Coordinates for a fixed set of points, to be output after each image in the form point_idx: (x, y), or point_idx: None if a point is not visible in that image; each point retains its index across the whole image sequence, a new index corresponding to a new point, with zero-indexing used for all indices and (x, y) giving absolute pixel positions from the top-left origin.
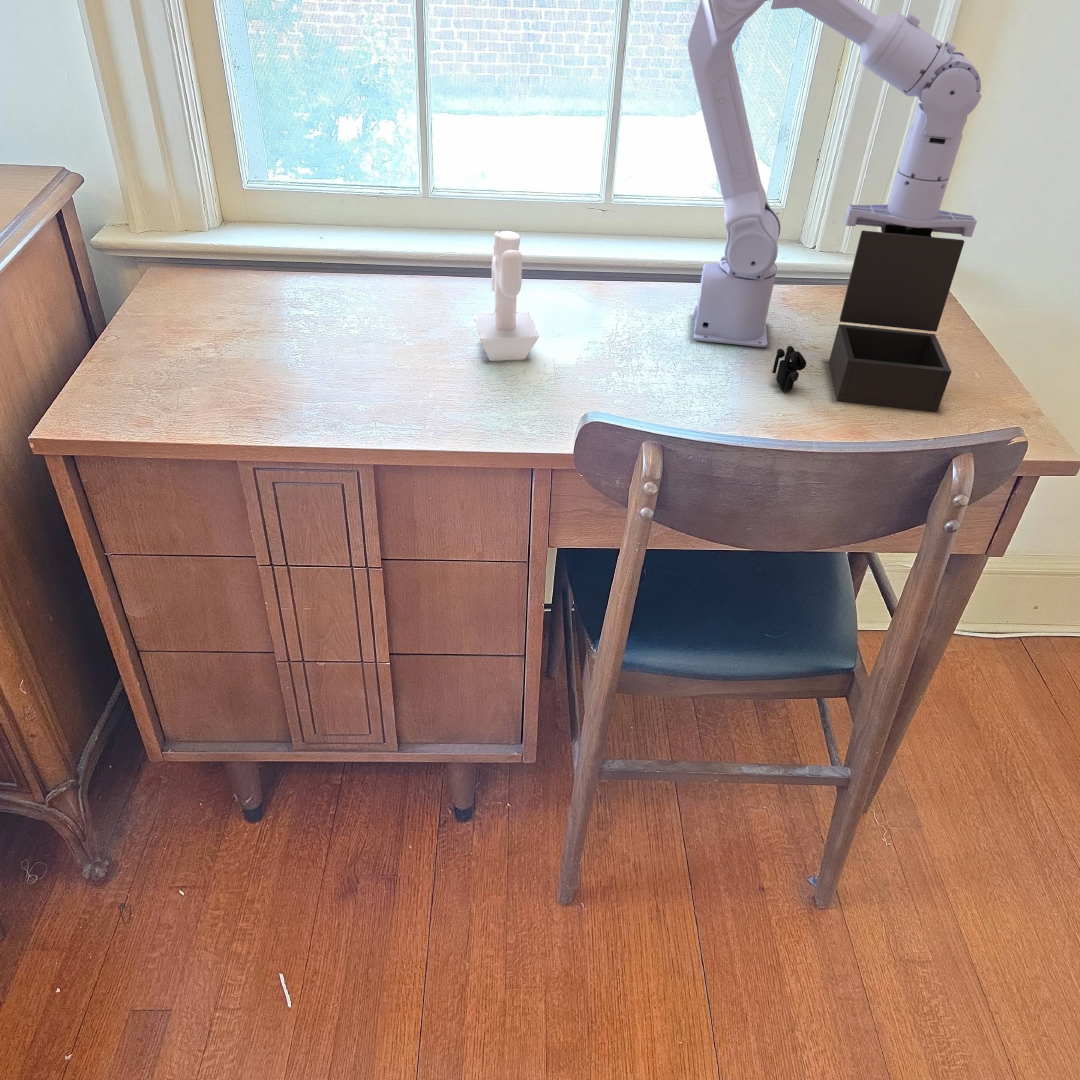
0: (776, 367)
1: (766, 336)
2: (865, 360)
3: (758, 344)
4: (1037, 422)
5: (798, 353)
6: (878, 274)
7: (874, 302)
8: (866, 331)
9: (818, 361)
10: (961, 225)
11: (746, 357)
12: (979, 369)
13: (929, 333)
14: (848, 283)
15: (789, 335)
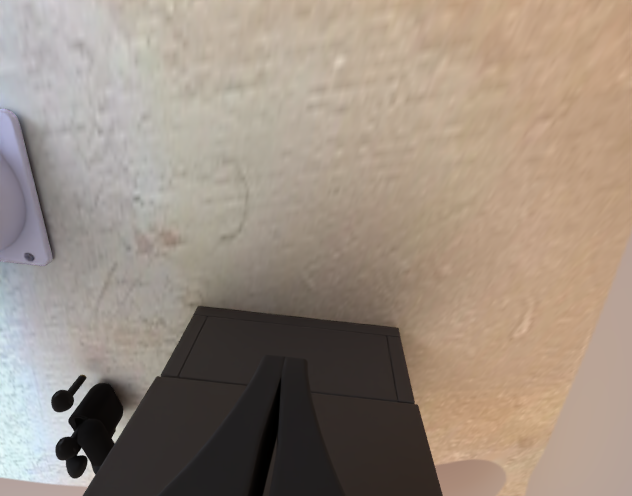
0: (77, 389)
1: (37, 223)
2: None
3: (29, 263)
4: (535, 456)
5: (86, 449)
6: None
7: None
8: None
9: (176, 301)
10: None
11: (22, 299)
12: (549, 301)
13: (399, 402)
14: (97, 472)
15: (101, 177)
